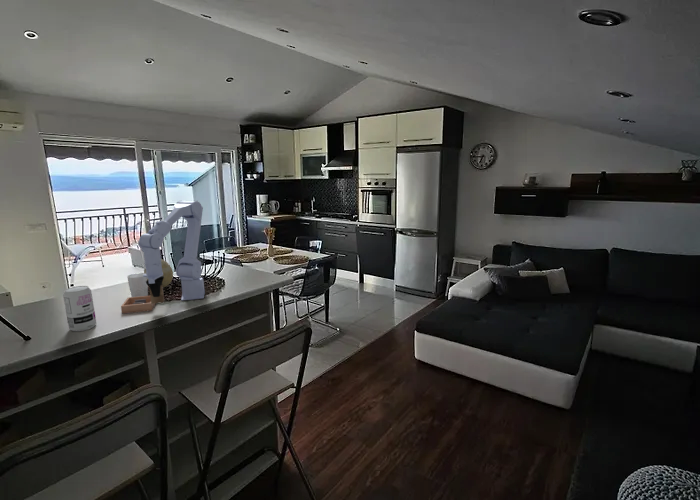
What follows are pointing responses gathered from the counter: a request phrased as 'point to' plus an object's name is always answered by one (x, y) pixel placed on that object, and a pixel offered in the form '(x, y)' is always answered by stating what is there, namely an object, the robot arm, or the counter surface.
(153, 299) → the tall brown plank
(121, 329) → the counter surface
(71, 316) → the supplement can
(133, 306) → the shallow square frame box
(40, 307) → the counter surface
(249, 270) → the counter surface
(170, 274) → the fossilized egg
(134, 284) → the white cup
